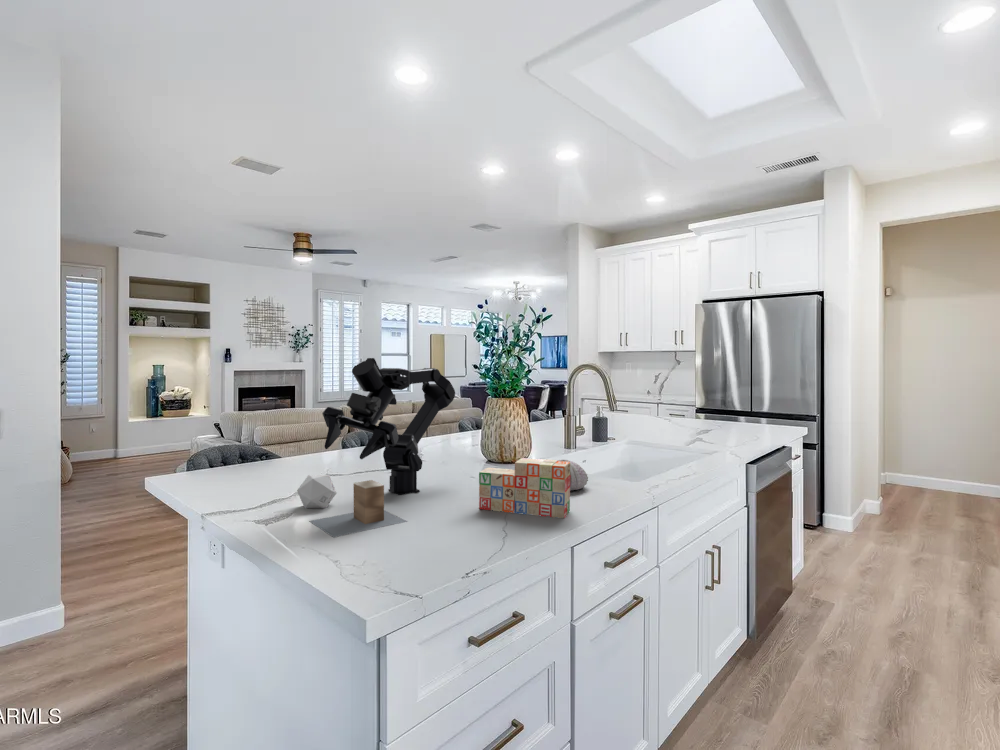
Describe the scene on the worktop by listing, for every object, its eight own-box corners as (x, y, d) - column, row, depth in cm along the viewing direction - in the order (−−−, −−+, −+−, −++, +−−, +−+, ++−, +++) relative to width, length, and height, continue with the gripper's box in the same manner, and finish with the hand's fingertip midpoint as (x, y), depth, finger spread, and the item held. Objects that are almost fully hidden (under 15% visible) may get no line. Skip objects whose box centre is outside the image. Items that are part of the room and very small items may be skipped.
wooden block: (372, 514, 123) (371, 480, 123) (384, 520, 119) (383, 484, 119) (353, 517, 121) (353, 482, 120) (365, 524, 116) (365, 487, 116)
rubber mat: (378, 508, 129) (378, 507, 129) (407, 522, 118) (407, 521, 118) (308, 522, 118) (308, 520, 118) (333, 538, 107) (333, 537, 107)
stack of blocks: (478, 510, 129) (478, 459, 129) (487, 503, 135) (487, 455, 134) (564, 519, 122) (565, 465, 121) (570, 511, 128) (570, 460, 127)
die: (313, 517, 124) (338, 481, 127) (284, 497, 126) (310, 462, 129) (324, 519, 132) (347, 486, 135) (296, 501, 134) (320, 468, 136)
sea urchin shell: (534, 491, 147) (534, 462, 147) (547, 481, 160) (547, 454, 160) (582, 495, 143) (582, 466, 142) (591, 484, 155) (591, 457, 155)
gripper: (335, 374, 130) (298, 420, 120) (404, 391, 126) (372, 441, 115) (344, 404, 138) (311, 450, 127) (409, 422, 134) (381, 471, 123)
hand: (342, 453), depth 123 cm, fingers open, 9 cm apart
